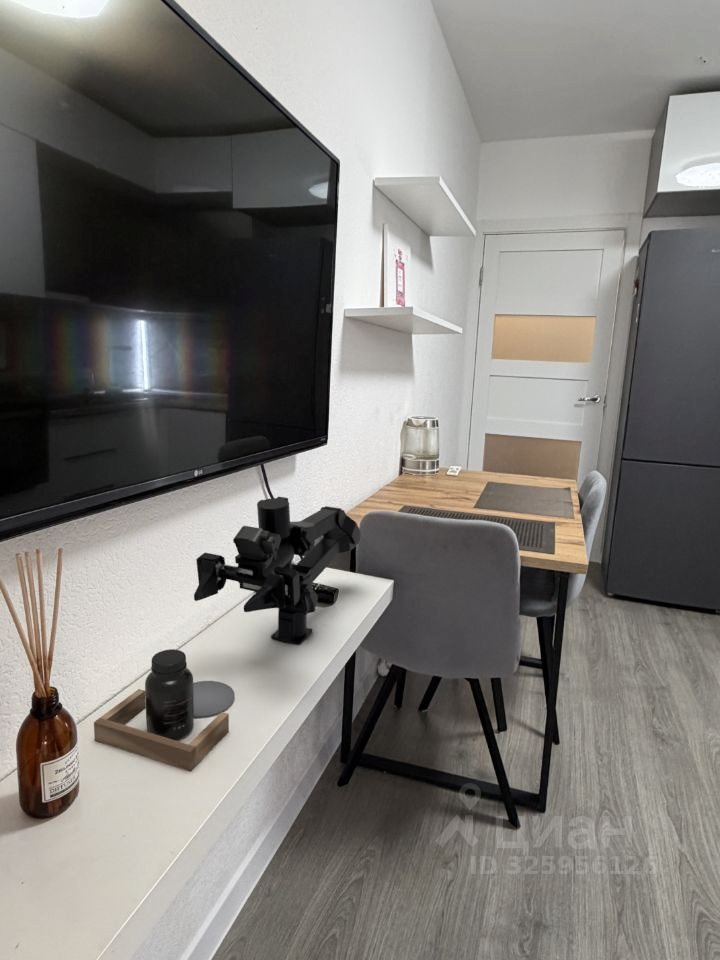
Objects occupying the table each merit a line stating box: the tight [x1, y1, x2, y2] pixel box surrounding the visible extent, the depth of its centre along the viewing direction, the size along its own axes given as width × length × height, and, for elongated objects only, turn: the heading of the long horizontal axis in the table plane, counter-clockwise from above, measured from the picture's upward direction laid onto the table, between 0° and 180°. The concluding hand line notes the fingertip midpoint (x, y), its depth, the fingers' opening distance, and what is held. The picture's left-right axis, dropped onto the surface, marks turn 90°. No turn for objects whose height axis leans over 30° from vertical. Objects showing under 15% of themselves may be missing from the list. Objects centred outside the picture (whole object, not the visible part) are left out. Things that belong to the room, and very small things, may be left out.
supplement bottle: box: [144, 648, 195, 741], centre depth 88 cm, size 7×7×12 cm
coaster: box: [193, 680, 236, 719], centre depth 97 cm, size 10×10×1 cm
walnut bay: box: [93, 688, 230, 772], centre depth 88 cm, size 10×16×3 cm, turn 70°
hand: (219, 603), depth 94 cm, fingers open, 9 cm apart
